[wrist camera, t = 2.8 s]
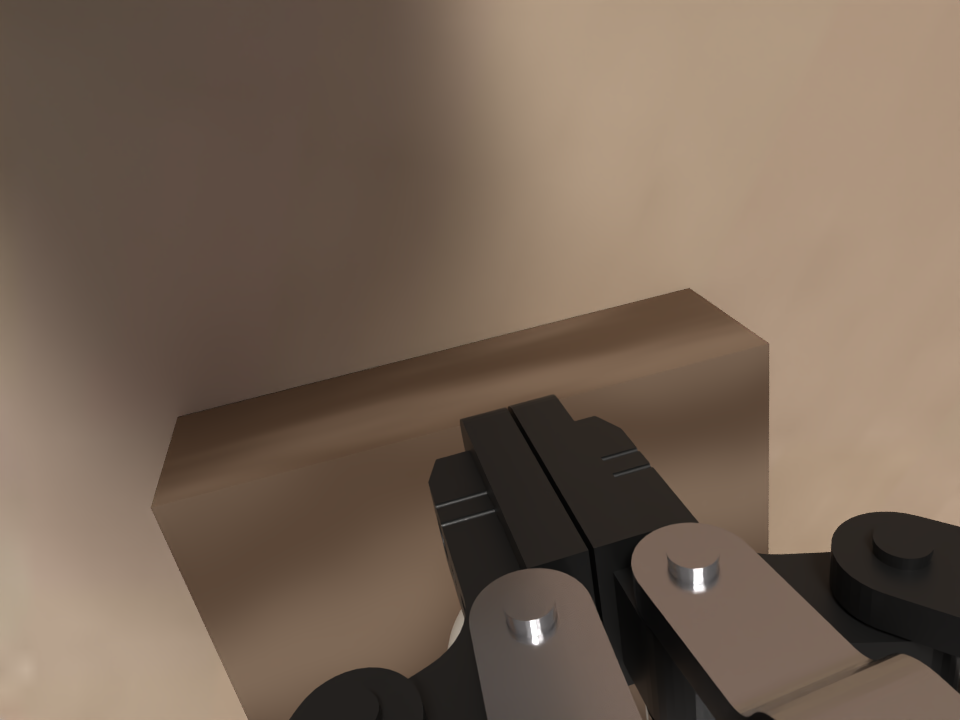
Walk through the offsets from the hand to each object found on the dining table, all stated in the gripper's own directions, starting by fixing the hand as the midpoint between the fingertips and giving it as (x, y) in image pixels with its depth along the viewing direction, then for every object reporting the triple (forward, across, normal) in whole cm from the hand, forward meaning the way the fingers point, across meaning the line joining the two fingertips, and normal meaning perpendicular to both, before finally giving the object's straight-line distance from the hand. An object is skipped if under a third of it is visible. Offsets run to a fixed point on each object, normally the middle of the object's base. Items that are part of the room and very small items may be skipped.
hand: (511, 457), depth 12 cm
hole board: (+11, 0, +16) cm, 19 cm away
